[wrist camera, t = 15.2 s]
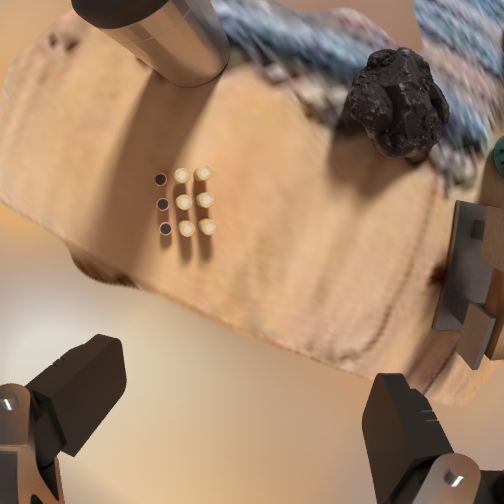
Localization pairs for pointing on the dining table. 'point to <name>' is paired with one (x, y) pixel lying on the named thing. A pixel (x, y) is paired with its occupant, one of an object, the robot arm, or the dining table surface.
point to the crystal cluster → (398, 103)
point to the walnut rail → (496, 315)
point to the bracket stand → (471, 278)
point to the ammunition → (188, 202)
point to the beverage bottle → (499, 156)
